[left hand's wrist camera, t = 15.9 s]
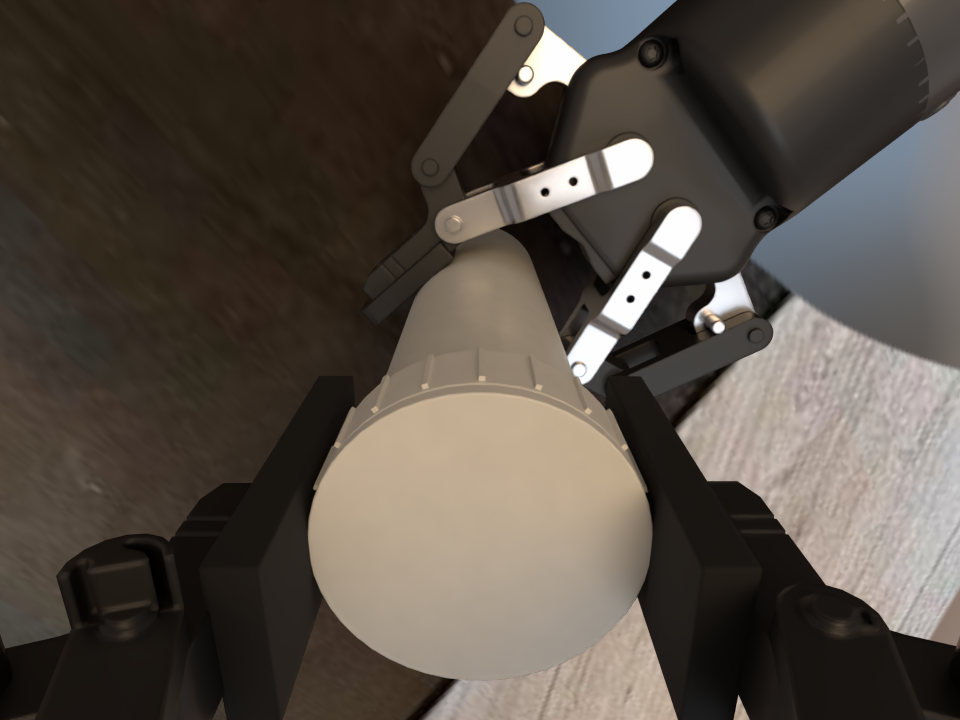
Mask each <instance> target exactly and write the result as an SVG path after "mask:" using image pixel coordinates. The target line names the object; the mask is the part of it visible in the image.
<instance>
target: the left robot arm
mask: <svg viewBox="0 0 960 720" xmlns="http://www.w3.org/2000/svg"><path fill="white" fill-rule="evenodd" d="M352 407H354V408H355V396H354V383H353V376H319V378H318V379H317V381H316V382H315V384H314V385H313V387H312V389H311V390H310V392H309V393H308V395H307V397H306V398H305V400H304V401H303V403H302V405H301V406H300V408H299V409H298V411H297V413H296V414H295V416H294V417H293V419H292V420H291V422H290V424H289V425H288V427H287V428H286V430H285V432H284V433H283V435H282V436H281V438H280V440H279V441H278V443H277V444H276V446H275V448H274V449H273V451H272V452H271V454H270V455H269V457H268V459H267V460H266V462H265V463H264V465H263V467H262V468H261V470H260V471H259V473H258V475H257V476H256V478H255V479H254V481H253V483H223V484H222V485H220V486H219V487H217V488H216V489H214V490H213V491H211V492H210V493H208V494H207V495H206V496H204V497H203V498H201V499H200V500H199V502H198V503H197V504H196V506H195V507H194V508H193V510H192V511H191V513H190V514H189V515H188V517H187V521H184V522H183V523H182V525H181V526H180V527H179V529H178V530H177V531H176V535H175V537H172V538H171V540H170V541H169V542H168V541H167V540H166V539H165V538H163V537H160V536H155V535H151V534H133V535H125V536H121V537H117V538H113V539H109V540H105V541H103V542H101V543H98V544H96V545H94V546H92V547H90V548H87V549H85V550H83V551H82V552H81V553H79V554H78V555H76V556H75V557H74V558H72V559H71V560H69V561H68V562H67V563H66V564H65V565H64V567H63V568H62V569H61V570H60V572H59V573H58V574H57V575H56V577H57V581H58V584H59V588H60V591H61V594H62V598H63V601H64V605H65V608H66V612H67V615H68V619H69V622H70V625H71V631H70V633H69V634H65V635H62V636H58V637H55V638H50V639H46V640H41V641H37V642H33V643H28V644H24V645H19V646H15V647H10V648H6V649H5V647H4V644H3V642H2V639H1V636H0V720H212V719H213V716H214V714H215V712H216V710H217V707H218V705H219V703H220V701H221V699H222V697H223V702H224V707H225V712H226V717H227V720H282V719H283V716H284V713H285V710H286V707H287V704H288V701H289V698H290V695H291V692H292V689H293V686H294V683H295V680H296V677H297V674H298V671H299V668H300V665H301V662H302V659H303V656H304V653H305V650H306V647H307V643H308V640H309V637H310V634H311V631H312V628H313V625H314V622H315V619H316V616H317V613H318V610H319V607H320V604H321V601H322V598H323V595H322V593H321V591H320V589H319V586H318V584H317V581H316V579H315V577H314V574H313V570H312V566H311V560H310V551H309V542H308V520H309V514H310V510H311V506H312V501H313V498H314V495H315V493H316V490H313V488H314V484H315V482H316V480H317V478H318V475H319V473H320V471H321V469H322V467H323V464H324V462H325V460H326V458H327V456H328V453H329V451H330V449H331V447H332V446H334V444H335V441H336V439H337V437H338V435H339V433H340V430H341V428H342V426H343V424H344V421H345V419H346V417H347V415H348V413H349V410H350V409H351V408H352ZM608 409H610V410H611V411H612V413H613V415H614V417H615V419H616V421H617V424H618V426H619V428H620V430H621V432H622V435H623V437H624V439H625V441H626V443H627V446H628V448H629V449H630V451H631V453H632V456H633V458H634V460H635V462H636V464H637V467H638V469H639V471H640V473H641V475H642V478H643V480H644V482H645V484H646V486H647V490H648V492H646V493H645V494H646V497H647V500H648V503H649V506H650V512H651V518H652V523H653V536H652V546H651V555H650V563H649V568H648V571H647V575H646V578H645V581H644V583H643V585H642V587H641V590H640V592H639V594H638V596H637V597H638V600H639V603H640V606H641V609H642V612H643V615H644V618H645V621H646V624H647V627H648V630H649V633H650V636H651V639H652V642H653V645H654V648H655V651H656V655H657V658H658V661H659V664H660V667H661V670H662V673H663V676H664V679H665V682H666V685H667V688H668V691H669V694H670V697H671V700H672V703H673V706H674V709H675V712H676V715H677V718H678V720H733V719H734V714H735V709H736V704H737V699H738V695H739V697H740V699H741V701H742V703H743V706H744V708H745V710H746V712H747V715H748V717H749V719H750V720H960V637H959V640H958V643H957V646H953V645H948V644H944V643H940V642H935V641H931V640H926V639H922V638H917V637H913V636H909V635H904V634H901V633H898V632H894V631H891V630H889V628H888V626H887V625H886V623H885V622H884V621H883V619H882V618H881V616H880V615H879V613H878V612H876V611H875V610H874V609H873V608H871V607H870V606H869V605H868V604H866V603H865V602H864V601H863V600H861V599H859V598H857V597H855V596H853V595H851V594H849V593H847V592H845V591H843V590H841V589H837V588H834V587H830V586H827V585H825V583H824V582H823V581H822V579H821V578H820V577H819V575H818V574H817V573H816V571H815V570H814V569H813V567H812V566H811V564H810V563H809V562H808V560H807V559H806V558H805V556H804V555H803V554H802V552H801V551H800V550H799V548H798V547H797V546H796V544H795V543H794V542H793V540H792V539H791V538H790V536H789V535H788V534H785V530H784V528H783V527H782V526H781V524H780V523H779V521H778V520H777V519H774V515H773V513H772V512H771V511H770V509H769V508H768V507H767V505H766V504H765V503H764V501H763V500H762V499H761V497H760V496H758V495H757V494H755V493H754V492H752V491H751V490H749V489H748V488H746V487H745V486H743V485H742V484H741V483H739V482H738V481H707V480H706V479H705V477H704V476H703V474H702V472H701V471H700V469H699V468H698V466H697V464H696V463H695V461H694V460H693V458H692V456H691V455H690V453H689V452H688V450H687V449H686V447H685V445H684V444H683V442H682V441H681V439H680V437H679V436H678V434H677V433H676V431H675V429H674V428H673V426H672V425H671V423H670V421H669V420H668V418H667V417H666V415H665V414H664V412H663V410H662V409H661V407H660V406H659V404H658V402H657V401H656V399H655V398H654V396H653V394H652V393H651V391H650V390H649V388H648V386H647V385H646V383H645V382H644V380H643V379H642V377H641V376H607V388H606V401H605V410H608Z"/></svg>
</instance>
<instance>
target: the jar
mask: <svg viewBox="0 0 960 720" xmlns="http://www.w3.org/2000/svg"><path fill="white" fill-rule="evenodd" d="M479 347H485V351H500V352H507V353H513V354H518V355H521V356H525V357H529V356H530V354H531V355H534V356H536V360H538V361H541V362H543V363H545V364H548V365H550V366H552V367H555V368H556V369H558V370H560V371H562V372H563V373H565V374H567V375H568V376H570V377H572V378H574V374H573V372H572V369H571V366H570V364H569V361H568V358H567V355H566V353H565V350H564V347H563V345H562V342H561V339H560V336H559V334H558V331H557V328H556V326H555V323H554V320H553V317H552V315H551V312H550V309H549V307H548V304H547V301H546V299H545V296H544V293H543V290H542V288H541V285H540V282H539V280H538V277H537V274H536V271H535V269H534V266H533V263H532V261H531V258H530V256H529V254H528V252H527V251H526V249H525V248H524V246H523V245H522V244H521V243H520V242H519V241H518V240H517V239H516V238H514V237H513V236H512V235H510V234H508V233H507V232H505V231H503V230H500V229H495V230H493V231H490V232H487V233H485V234H482V235H479V236H477V237H474V238H471V239H469V240H466V241H463V242H462V243H461V244H460V245H459V246H458V247H457V248H456V252H455V258H454V259H453V260H452V261H451V262H450V263H449V264H448V265H446V266H445V267H444V268H443V269H442V270H441V271H439V272H438V273H437V274H436V275H435V276H433V277H432V278H431V279H430V280H429V281H428V282H427V283H426V284H424V285H423V286H422V287H421V288H420V289H419V290H417V293H416V296H415V299H414V301H413V304H412V307H411V309H410V312H409V315H408V318H407V320H406V323H405V326H404V329H403V331H402V334H401V337H400V339H399V342H398V345H397V348H396V350H395V353H394V356H393V358H392V361H391V364H390V367H389V369H388V372H387V375H388V376H389V377H391V376H392V375H393V374H395V373H397V372H399V371H401V370H403V369H404V368H406V367H408V366H410V365H412V364H415V363H417V362H420V361H423V360H426V359H427V356H428V355H430V354H433V355H434V357H435V356H439V355H443V354H448V353H452V352H462V351H471V350H479Z"/></svg>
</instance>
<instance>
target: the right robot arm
mask: <svg viewBox="0 0 960 720" xmlns="http://www.w3.org/2000/svg"><path fill="white" fill-rule="evenodd" d="M548 83H556V84H559V85H561V86H562V87H564V90H563V94H562V97H561V101H560V105H559V109H558V113H557V117H556V120H555V124H554V128H553V132H552V136H551V140H550V143H549V147H548V151H547V155H546V159H545V160H544V161H541V162H538V163H536V164H533V165H531V166H528V167H526V168H523V169H520V170H518V171H515V172H513V173H510V174H507V175H505V176H503V177H501V178H499V179H497V180H495V181H493V182H490V183H488V184H485V185H482V186H480V187H477V188H475V189H472V190H470V191H467V192H465V190H464V187H463V184H462V182H461V179H460V176H459V174H458V171H457V168H456V164H457V163H458V161H459V160H460V158H461V157H462V155H463V154H464V152H465V151H466V149H467V148H468V146H469V145H470V143H471V142H472V140H473V139H474V137H475V136H476V135H477V133H478V132H479V130H480V129H481V127H482V126H483V124H484V123H485V121H486V120H487V118H488V117H489V115H490V114H491V112H492V111H493V109H494V108H495V106H496V105H497V103H498V102H499V100H500V99H501V98H502V96H503V95H504V93H505V92H506V91H507V92H508V93H510V94H511V95H512V96H514V97H517V98H527V97H529V96H531V95H533V94H535V93H536V92H537V91H538V90H539V89H540V88H541V87H542V86H543V85H545V84H548ZM958 91H960V0H677V1H676V2H675V3H673V4H672V5H671V6H670V7H669V8H668V9H667V10H666V11H664V12H663V13H662V14H661V15H660V16H659V17H658V18H657V19H655V20H654V21H653V22H652V23H651V24H650V25H649V26H648V27H646V28H645V29H644V30H643V31H642V32H641V33H640V34H639V35H637V36H636V37H635V38H634V39H633V40H632V41H630V42H629V43H628V44H627V45H625V46H624V47H623V48H621V49H620V50H617V51H614V52H611V53H607V54H601V55H598V56H595V57H592V58H590V59H588V60H586V59H585V58H584V57H582V56H581V55H580V54H579V53H578V52H576V51H575V50H574V49H573V48H572V47H570V46H569V45H568V44H567V43H565V42H564V41H563V40H562V39H561V38H559V37H558V36H557V35H556V34H555V33H553V32H552V31H551V30H550V29H548V28H547V27H546V26H545V21H544V17H543V15H542V13H541V11H540V10H539V9H538V8H537V7H536V6H535V5H533V4H531V3H526V2H522V3H518V4H516V5H514V6H512V7H511V8H510V9H509V10H508V12H507V13H506V14H505V16H504V18H503V19H502V21H501V22H500V24H499V25H498V27H497V28H496V30H495V31H494V33H493V35H492V36H491V38H490V39H489V41H488V42H487V44H486V45H485V47H484V48H483V50H482V51H481V53H480V55H479V56H478V58H477V59H476V61H475V62H474V64H473V65H472V67H471V68H470V70H469V71H468V73H467V75H466V76H465V78H464V79H463V81H462V82H461V84H460V85H459V87H458V88H457V90H456V91H455V93H454V95H453V96H452V98H451V99H450V101H449V102H448V104H447V105H446V107H445V108H444V110H443V111H442V113H441V115H440V116H439V118H438V119H437V121H436V122H435V124H434V125H433V127H432V128H431V130H430V131H429V133H428V135H427V136H426V138H425V139H424V141H423V142H422V144H421V145H420V147H419V148H418V150H417V151H416V153H415V155H414V156H413V158H412V161H411V172H412V175H413V177H414V178H415V180H416V181H417V182H418V183H419V185H420V187H421V190H422V192H423V195H424V197H425V200H426V202H427V205H428V218H427V220H426V222H425V223H424V224H423V225H421V226H420V227H419V228H418V229H417V230H416V231H415V232H414V233H412V234H411V235H410V236H409V237H408V238H407V239H406V240H405V241H403V242H402V243H401V244H400V245H399V246H398V247H397V248H396V249H394V250H393V251H392V252H391V253H390V254H389V255H388V256H387V257H386V258H384V259H383V260H382V261H381V262H380V263H379V264H378V265H377V266H375V268H374V269H373V271H372V272H371V273H370V275H369V277H368V279H367V281H366V283H365V285H364V287H363V291H364V292H365V293H366V294H367V295H368V296H369V297H370V298H369V299H368V300H367V301H366V303H365V305H364V306H363V308H362V309H361V311H360V312H361V313H362V314H363V315H364V316H365V317H366V318H367V319H368V320H369V321H370V322H371V323H372V324H373V325H374V326H376V325H378V324H379V323H380V322H381V321H383V320H384V319H385V318H386V317H387V316H388V315H390V314H391V313H392V312H393V311H394V310H395V309H397V308H398V307H399V306H400V305H401V304H402V303H404V302H405V301H406V300H407V299H408V298H409V297H410V296H412V295H413V294H414V293H415V292H416V291H417V290H419V289H420V288H421V287H422V286H423V285H424V284H426V283H427V282H428V281H429V280H430V279H431V278H432V277H433V276H435V275H436V274H437V273H438V272H439V271H441V270H442V269H443V268H444V267H445V266H446V265H448V264H449V263H450V262H451V261H452V260H453V259H454V258H455V252H456V248H457V247H458V246H459V245H460V244H461V243H462V242H463V241H466V240H469V239H471V238H474V237H477V236H479V235H482V234H485V233H487V232H490V231H493V230H495V229H498V228H501V227H503V226H506V225H509V224H516V223H520V222H524V221H527V220H529V219H532V218H535V217H537V216H540V215H543V214H545V213H549V214H550V215H551V217H552V218H553V219H554V220H555V222H556V223H557V224H558V225H559V227H560V228H561V229H562V230H563V231H564V232H565V233H567V234H568V235H569V236H571V237H572V238H574V239H575V240H576V241H577V242H578V244H579V246H580V249H581V251H582V253H583V256H584V257H585V258H586V260H587V261H588V262H589V263H590V265H591V266H592V267H593V269H594V270H595V271H594V273H593V274H592V276H591V277H590V279H589V281H588V282H587V284H586V285H585V287H584V289H583V291H582V293H581V297H580V301H579V303H578V305H577V306H576V308H575V309H574V311H573V313H572V314H571V316H570V317H569V319H568V321H567V322H566V324H565V325H564V327H563V328H562V330H561V332H560V333H559V336H560V339H561V342H562V345H563V347H564V350H565V353H566V355H567V358H568V361H569V364H570V366H571V369H572V372H573V374H574V377H575V376H577V377H578V378H579V379H580V381H581V383H582V386H583V387H585V388H586V389H589V390H591V391H593V392H595V393H597V394H599V395H601V396H603V397H605V398H606V388H607V376H641V377H642V379H643V380H644V382H645V383H646V385H647V386H648V388H649V390H650V391H651V393H652V394H653V396H654V397H657V396H659V395H661V394H663V393H666V392H668V391H670V390H672V389H675V388H677V387H679V386H681V385H684V384H686V383H688V382H690V381H693V380H695V379H697V378H699V377H702V376H704V375H706V374H708V373H710V372H713V371H715V370H717V369H719V368H722V367H724V366H726V365H728V364H731V363H733V362H735V361H737V360H740V359H742V358H744V357H746V356H749V355H751V354H753V353H755V352H758V351H760V350H762V349H764V348H765V347H766V346H767V345H768V344H769V343H770V342H771V340H772V337H773V328H772V326H771V324H770V323H769V322H768V321H767V320H765V319H764V318H762V317H761V316H759V315H758V314H757V313H756V312H755V311H754V308H753V306H752V303H751V300H750V298H749V295H748V292H747V290H746V287H745V284H744V282H743V279H742V276H741V273H740V272H741V270H742V269H743V268H744V267H745V266H746V264H747V263H748V261H749V259H750V257H751V255H752V253H753V251H754V249H755V248H756V246H757V245H758V244H759V242H760V241H761V240H762V239H763V237H764V236H765V235H767V234H768V233H769V232H770V231H772V230H773V229H775V228H776V227H778V226H779V225H781V224H783V223H784V222H786V221H788V220H789V219H791V218H792V217H794V216H795V215H797V214H798V213H799V212H801V211H802V210H803V209H805V208H806V207H807V206H809V205H810V204H811V203H812V202H814V201H815V200H816V199H818V198H819V197H820V196H822V195H823V194H824V193H826V192H827V191H828V190H830V189H831V188H832V187H834V186H835V185H836V184H837V183H839V182H840V181H841V180H843V179H844V178H845V177H847V176H848V175H849V174H851V173H852V172H853V171H855V170H856V169H857V168H859V167H860V166H861V165H862V164H864V163H865V162H866V161H868V160H869V159H870V158H872V157H873V156H874V155H876V154H877V153H878V152H880V151H881V150H882V149H884V148H885V147H886V146H888V145H889V144H890V143H891V142H893V141H894V140H896V139H897V138H898V137H899V136H901V135H902V134H903V133H905V132H906V131H907V130H909V129H910V128H911V127H913V126H914V125H915V124H916V123H918V122H919V121H923V120H925V119H927V118H929V117H931V116H932V115H934V114H935V113H937V112H938V111H940V110H941V109H942V108H944V107H945V106H946V105H947V104H948V103H949V101H950V100H951V99H952V98H953V97H954V96H955V95H956V94H957V92H958ZM699 284H707V285H706V289H705V291H704V293H703V294H702V296H701V297H700V298H698V299H697V300H695V301H694V302H693V303H691V305H690V306H689V307H688V309H687V312H686V319H683V320H681V321H679V322H677V323H675V324H673V325H671V326H668V327H666V328H664V329H662V330H660V331H658V332H655V333H653V334H651V335H649V336H647V337H645V338H643V339H640V340H638V341H636V342H634V343H632V344H630V345H627V346H625V347H623V348H621V349H619V350H617V351H614V352H612V353H610V352H611V350H612V349H613V347H614V346H615V344H616V343H617V341H618V340H619V339H620V338H621V337H622V336H625V335H627V334H628V333H629V332H630V331H631V330H632V328H633V327H634V325H635V324H636V322H637V321H638V319H639V318H640V316H641V315H642V313H643V312H644V310H645V309H646V307H647V306H648V304H649V303H650V302H651V300H652V299H653V297H654V296H655V294H656V293H657V291H658V290H659V288H662V287H675V286H687V285H699ZM628 296H631V297H630V298H629V299H627V297H628Z"/></svg>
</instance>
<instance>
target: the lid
mask: <svg viewBox="0 0 960 720" xmlns="http://www.w3.org/2000/svg"><path fill="white" fill-rule="evenodd" d="M313 490H316V493H315V495H314V498H313V501H312V506H311V510H310V514H309V520H308V542H309V551H310V560H311V566H312V570H313V574H314V577H315V579H316V581H317V584H318V586H319V589H320V591H321V593H322V595H323V597H324V598H325V600H326V602H327V603H328V605H329V607H330V608H331V610H332V611H333V612H334V613H335V615H336V616H337V617H338V618H339V620H340V621H341V622H342V623H343V624H344V625H345V626H346V627H347V628H348V629H349V630H350V631H351V632H352V633H353V634H354V635H355V636H356V637H357V638H358V639H360V640H361V641H362V642H364V643H365V644H366V645H368V646H369V647H370V648H372V649H373V650H375V651H377V652H378V653H380V654H382V655H383V656H385V657H387V658H388V659H390V660H393V661H395V662H397V663H399V664H401V665H404V666H406V667H408V668H411V669H414V670H417V671H420V672H424V673H427V674H431V675H436V676H440V677H445V678H452V679H461V680H499V679H509V678H515V677H520V676H525V675H530V674H533V673H536V672H540V671H543V670H547V669H549V668H552V667H554V666H557V665H559V664H561V663H564V662H566V661H568V660H570V659H572V658H574V657H575V656H577V655H579V654H581V653H583V652H584V651H586V650H587V649H589V648H590V647H591V646H593V645H594V644H596V643H597V642H599V641H600V640H601V639H602V638H603V637H604V636H605V635H606V634H608V633H609V632H610V631H611V630H612V629H613V628H614V627H615V626H616V625H617V624H618V622H619V621H620V620H621V619H622V618H623V617H624V616H625V614H626V613H627V612H628V610H629V609H630V607H631V606H632V604H633V603H634V601H635V599H636V598H637V596H638V594H639V592H640V590H641V587H642V585H643V583H644V581H645V578H646V575H647V571H648V568H649V563H650V555H651V546H652V536H653V523H652V518H651V512H650V506H649V503H648V500H647V497H646V494H645V493H646V492H648V490H647V486H646V484H645V482H644V480H643V478H642V475H641V473H640V471H639V469H638V467H637V464H636V462H635V460H634V458H633V456H632V453H631V451H630V449H629V448H628V446H627V443H626V441H625V439H624V437H623V435H622V432H621V430H620V428H619V426H618V424H617V421H616V419H615V417H614V415H613V413H612V411H611V410H610V409H608V410H605V409H604V407H603V406H602V405H601V403H600V402H599V401H598V400H597V399H596V398H595V397H594V396H593V395H592V394H591V393H590V392H589V391H588V390H587V389H586V388H585V387H583V386H582V383H581V381H580V379H579V378H578V377H577V376H575V377H574V378H572V377H570V376H568V375H567V374H565V373H563V372H562V371H560V370H558V369H556V368H555V367H552V366H550V365H548V364H545V363H543V362H541V361H538V360H536V356H534V355H531V354H530V356H529V357H525V356H521V355H518V354H513V353H507V352H500V351H485V347H479V350H471V351H462V352H452V353H448V354H443V355H439V356H435V357H434V355H433V354H430V355H428V356H427V359H426V360H423V361H420V362H417V363H415V364H412V365H410V366H408V367H406V368H404V369H403V370H401V371H399V372H397V373H395V374H393V375H392V376H391V377H389V376H388V375H385V376H384V377H383V378H382V381H381V384H379V385H378V386H377V387H376V388H375V389H374V390H373V391H372V392H371V393H369V394H368V395H367V396H366V397H365V398H364V399H363V401H362V402H361V403H360V404H359V406H358V407H357V408H354V407H352V408H351V409H350V410H349V413H348V415H347V417H346V419H345V421H344V424H343V426H342V428H341V430H340V433H339V435H338V437H337V439H336V441H335V444H334V446H332V447H331V449H330V451H329V453H328V456H327V458H326V460H325V462H324V464H323V467H322V469H321V471H320V473H319V475H318V478H317V480H316V482H315V484H314V488H313Z"/></svg>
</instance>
